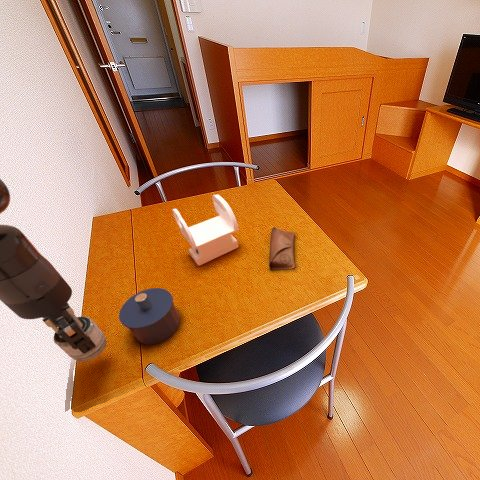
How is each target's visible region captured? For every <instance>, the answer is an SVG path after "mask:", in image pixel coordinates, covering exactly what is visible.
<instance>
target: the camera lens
mask: <svg viewBox="0 0 480 480" xmlns="http://www.w3.org/2000/svg"><path fill="white" fill-rule="evenodd" d="M76 317H77V318H78V319H79V320H80V322H81V323H82V327H81V328H82V329H83V330H84V332H85V333H87V334H88V336H89V337H90V339H91V340H92V341H93V342H94V344H95V345H96V347H95V348H93V349H92V350H90V351H89V352H87V353H85V354H83V353H82V352H81V351H80V350H79V349H76V350H75V349H73V348H72V346H71V345H70V344H69V343H67V342H66V341H65V340H64V339H63V338H61V337H60V336H59V335H58V334H57V333H56V332H55V331H54V334H53V343H54V344H55V345H57V346H58V347H59V348H60V349H61V350H62V351H63V352H64V353H65V354H66V355H67V356H68V357H69V358H71V359H73V360H74V361H77V362H89V361H91V360H93V359H95V358H97V357H99V355H101V354H102V353H103V352H104V351H105V349H106V347H107V343H108V342H107V338H106V336H105V333H104V332H103V331H102V330H101V329H100V327H99V326H98V325H97V324H96V323H95V321H94V320H93V319H92V318H91V317H88V316H76ZM73 322H75V321H74V319H73ZM75 323H76V322H75ZM60 329H62V328H59V330H60Z"/></svg>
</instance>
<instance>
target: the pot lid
mask: <svg viewBox="0 0 480 480" xmlns="http://www.w3.org/2000/svg"><path fill="white" fill-rule="evenodd" d="M173 303H174V297H173V295H172V293H171V292H170V291H169V290H167V289H166V288H161V287H153V288H147V289H144V290H141V291H139V292H136V293H135V294H133V295H132V296H130V297H129V298H128V299H127V300H126V301H125V302H124V303H123V304H122V306H121V307H120V309H119V313H118V319H119V322H120V323H121V325H123V326H124V327H125V328H127V329H129V328H131V329H141V328H146V327H149V326H151V325H154V324H156V323H157V322H159V321H160V320H162V319H163V318H164V317H165V316H166V315H167V314H168V313H169V311H170V310H171V308H172V305H173Z"/></svg>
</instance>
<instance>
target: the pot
mask: <svg viewBox="0 0 480 480" xmlns="http://www.w3.org/2000/svg"><path fill="white" fill-rule="evenodd" d="M180 323H181V317H180V313H179V311H178V309H177V306H176V305H175V303H174V302H173V305H172V308H171V310H170V311H169V313H168V314H167V315H166V316H165V317H164V318H163V319H162V320H160V321H159V322H157V323H156V324H154V325H151V326H149V327H146V328H141V329H131V328H128V329H129V331H130V332H131V334H132V335H133V337H134V338H135V339H136V340H137V341H138V342H140V343H141V344H143V345H155V344H160V343H161V342H164V341H166V340H167V339H169V338H170V337H171V336H172V335H174V333H176V331H177V330H178V328H179V326H180Z"/></svg>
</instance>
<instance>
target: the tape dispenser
mask: <svg viewBox="0 0 480 480" xmlns="http://www.w3.org/2000/svg"><path fill="white" fill-rule="evenodd" d="M211 197H212V199H211V200H212V203H213V206H214V207H213V208H214V211H215V213H216V214H217V216H215V217H212V218H209V219H207V220H204V221H201V222H198V223H196V224H194V225H191V226H188V225H187V223H186V221H185V219H184V218H183V216H182V215H181V213H180V211H179V210H178V209H177V208H172V209H171V212H172V216H173V217H174V220H175V222H176V225H177V226H178V229H179V232H180V234H182V236H183V237H184V239H185V240H186V241H187V242H188V243H189V245H190V246H191V248H188V252H189V255H190V257H191V258H192V260H193V261H194V262H195V263H196V265H197V266H198V267H200V266H202V265H204V264H206V263H208V262H210V261H212V260H215V259H216V258H219V257H221V256H223V255H225V254H227V253H230V252H231V251H234V250H236V249H238V248H239V241H238V239H237V238H235V237H234V236H233V233H235V232H237V231H239V230H240V228H239V224H238V220H237V217H236V216H235V214H234V213H235V212H234V211H233V209H232V208H231V206H230V204H229V203H228V202H227V201H226V200H225V199H224V198H223V197H222V196H221V195H220V194H218V193H217V194H213V195H212V196H211Z"/></svg>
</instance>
